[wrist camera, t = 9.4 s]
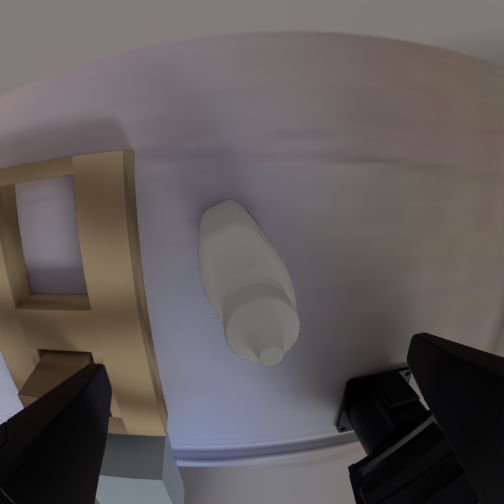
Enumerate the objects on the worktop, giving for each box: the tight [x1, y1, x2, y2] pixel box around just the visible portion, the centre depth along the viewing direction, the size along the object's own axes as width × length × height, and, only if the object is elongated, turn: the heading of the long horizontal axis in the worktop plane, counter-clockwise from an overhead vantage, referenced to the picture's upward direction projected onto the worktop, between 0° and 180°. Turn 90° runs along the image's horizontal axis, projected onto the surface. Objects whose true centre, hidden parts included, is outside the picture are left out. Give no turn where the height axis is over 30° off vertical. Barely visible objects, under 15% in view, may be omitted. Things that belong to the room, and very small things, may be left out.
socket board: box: [0, 150, 168, 436], centre depth 18 cm, size 20×12×2 cm, turn 0°
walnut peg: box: [18, 350, 94, 408], centre depth 18 cm, size 5×4×7 cm
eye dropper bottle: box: [198, 200, 300, 367], centre depth 14 cm, size 4×6×12 cm
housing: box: [96, 431, 184, 504], centre depth 22 cm, size 10×7×6 cm
